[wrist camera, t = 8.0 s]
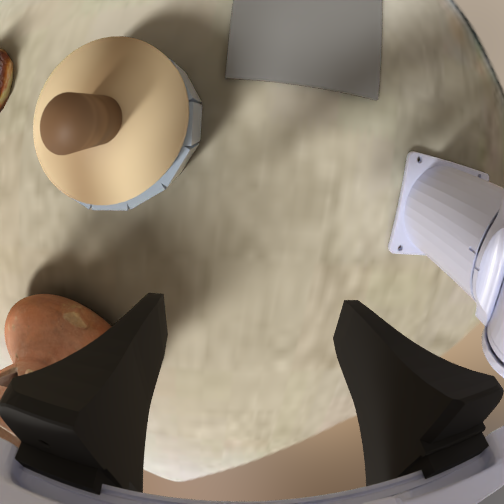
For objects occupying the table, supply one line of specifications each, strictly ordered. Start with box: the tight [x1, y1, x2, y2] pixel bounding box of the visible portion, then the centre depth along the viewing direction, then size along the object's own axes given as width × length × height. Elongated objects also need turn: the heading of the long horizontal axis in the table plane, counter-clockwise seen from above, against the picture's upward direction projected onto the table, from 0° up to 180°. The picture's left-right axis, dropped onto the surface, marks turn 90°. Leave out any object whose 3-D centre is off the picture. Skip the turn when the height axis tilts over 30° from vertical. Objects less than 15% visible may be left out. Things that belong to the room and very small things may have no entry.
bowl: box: [61, 57, 203, 211], centre depth 15 cm, size 9×9×4 cm
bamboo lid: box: [33, 36, 189, 205], centre depth 11 cm, size 9×9×4 cm
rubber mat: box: [225, 0, 382, 100], centre depth 14 cm, size 10×10×1 cm
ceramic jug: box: [0, 294, 112, 448], centre depth 18 cm, size 18×14×14 cm
